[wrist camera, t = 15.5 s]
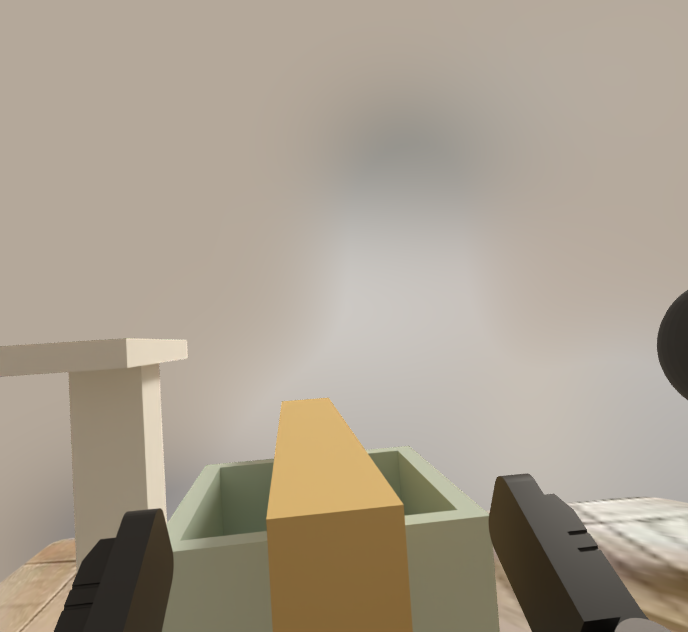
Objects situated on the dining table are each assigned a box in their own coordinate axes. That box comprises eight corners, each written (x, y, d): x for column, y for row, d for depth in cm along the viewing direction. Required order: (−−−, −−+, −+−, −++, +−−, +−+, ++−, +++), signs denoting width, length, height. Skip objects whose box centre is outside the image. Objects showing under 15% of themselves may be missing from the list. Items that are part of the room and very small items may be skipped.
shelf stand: (148, 832, 32) (126, 338, 33) (-18, 861, 30) (-34, 348, 32) (202, 643, 51) (186, 339, 53) (103, 656, 50) (89, 346, 52)
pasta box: (414, 644, 14) (403, 504, 14) (274, 664, 14) (266, 519, 14) (331, 444, 42) (328, 397, 42) (284, 448, 41) (281, 401, 42)
